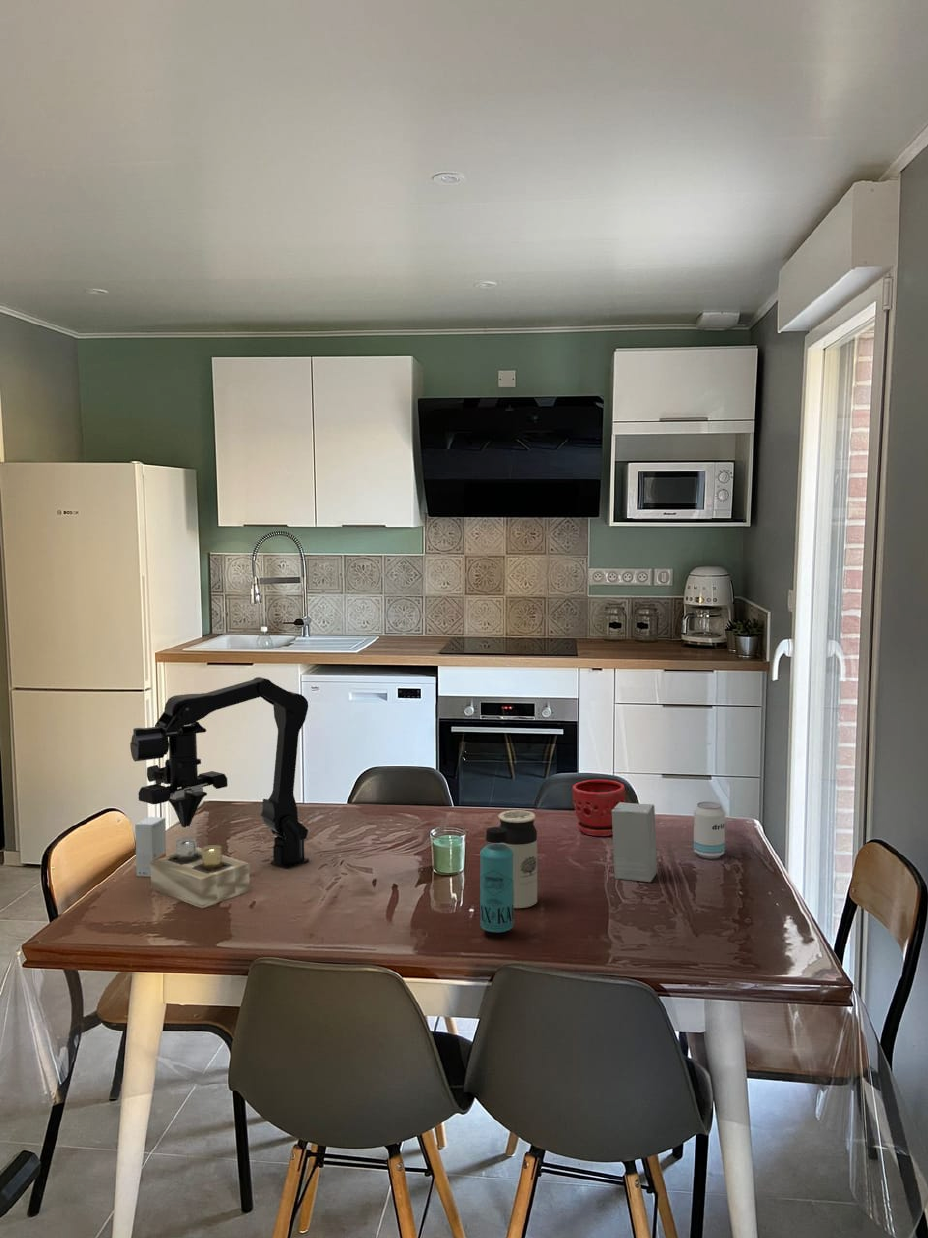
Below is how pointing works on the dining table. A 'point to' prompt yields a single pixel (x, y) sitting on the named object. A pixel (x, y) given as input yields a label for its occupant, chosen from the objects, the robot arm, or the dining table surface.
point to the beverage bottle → (496, 883)
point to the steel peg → (186, 849)
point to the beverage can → (709, 830)
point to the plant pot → (597, 805)
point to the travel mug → (522, 854)
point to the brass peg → (211, 857)
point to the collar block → (199, 879)
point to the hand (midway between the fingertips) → (185, 826)
